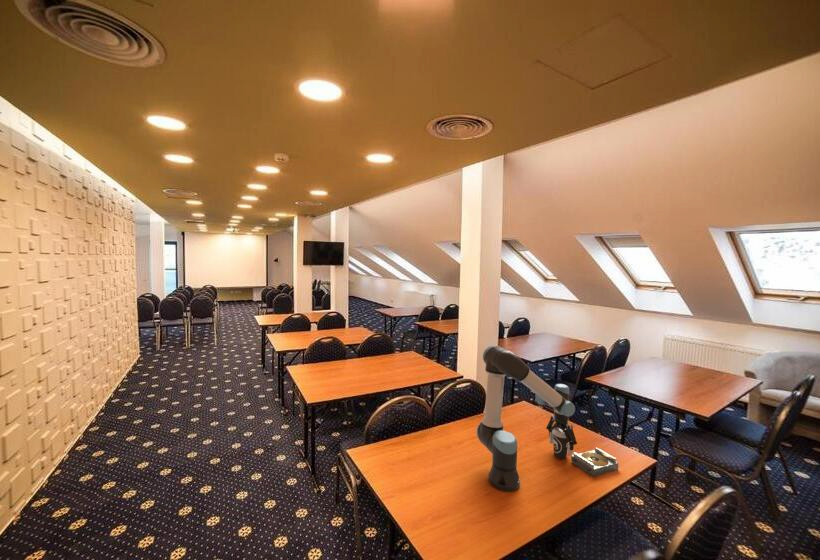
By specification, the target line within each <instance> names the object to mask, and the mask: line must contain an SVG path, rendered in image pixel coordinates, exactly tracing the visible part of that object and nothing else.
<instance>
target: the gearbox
mask: <svg viewBox="0 0 820 560" xmlns="http://www.w3.org/2000/svg"><path fill="white" fill-rule="evenodd" d="M570 461H571V462H570V463H572V464H573V465H575V466H576V467H577V468H579V469H580V470H581V471H584V473H586V474H587V475H589V476H591V477H592V478H594V477H599V476H601V475H605V474H610V473H613V472H617V471H619V462H618V461H617V457H614V456H613V455H612V454H611V455H610V454H609V453H607V452H605V451H603V450H602V449H600V448H598V447H595V448H594V449H593V450H588V451H585V452H580V453H577V452H573V455H571V459H570Z"/></svg>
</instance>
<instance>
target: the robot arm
mask: <svg viewBox="0 0 820 560" xmlns="http://www.w3.org/2000/svg"><path fill="white" fill-rule="evenodd" d="M482 359H483V362H484V363H485V372H486V373H487V380H486V381H487V383H486V394H485V403H484V404H485V406H484V415H483V416H484V417H483V418H481V420H480V423H479V424H478V425H477V427H476V436H477V439H478V440H479V442H480V443H481V444H482V445H483V446H484V447H485V448H486V449H487V450H488V451H489V452H490V453H491V454H492V464H491V467H490V471H489V472H488V475H487V478H488V484H490V485H491V486H492V487H493V488H495V489H497V490H498V491H501V492H506V493H507V492H514V491H515V492H516V491H517V490H518V489H519V488H520V486H521V479H520V476H519V473H518V468H517V467H518V466H517V464H518V463H517V462H518V460H517V459H518V448H519V447H518V440H517V437H516V436H515V435H514V434H513V433H511V432H508V431H507V430H504V423H503V421H502V411H503V410H502V408H503V397H504V386H505V385H504V384H505V377H506V376H508V377H510V378H512V379H514V381H516V382H519V383H522V384H523V385H524V386H526V387H527V388H528V389H529V390H530V391H531V392H533V393H534V394H535V395H534V397H535V398H534V399H535V401H536V402H537V405H540V406H545V405H546V406H548V407H550V408H551V409H553V410H554V411H553V413H554V415H552V416H550V420H549V421H548V424H547V425H546V427H545V428H546V430H548V436H549V437H548V438H549V440H548V441H549V445H551V444H552V445H553V434H552V430H553V429H554V428H555V427H558V428H560V429H561V430H562V431H563V432H564V433H565V435H566V437H567V440H568V449H567V457H568V456H569V457H570V456H572V455H574V452H573V451H574V446H575V445H577V444H578V443H577V439H576V436H575V432H574V429H573V425H572V424H569V423H568V422H569V418H570V417H571V416H573V415H574V413H575V412H576V406H575V405H574V403H572V401H570V394H571V393H570V387H569V386H568V385H566V384H564V383H556V384H555V386H554V388H552V386H550V385H549V384H548V383H547V382H546V381H544V380H543V379H542V378H540V377H539V376H538V375H537V374H535V372H533V371H532V370H531V368H530V366H529V365H528V364H527V363H525V362H524V361H523V360H522V359H521V358H520V357H519V356H518V355H517V354H515V353H514V352H512V351H511V350H508V349H506V348H504V347H502V346H500V345H499V346H498V345H494V344H492V345H490V346H488V347H487V348H485V350H484V351H483V352H482ZM564 429H566V430H564Z"/></svg>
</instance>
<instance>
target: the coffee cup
mask: <svg viewBox="0 0 820 560" xmlns="http://www.w3.org/2000/svg"><path fill="white" fill-rule="evenodd" d="M564 430H566V429H564ZM552 434H553V443H552V445H553V456H554V457H555V458H557V459H559V460H566V459H567V457H568V443H569V442H568V440H567V437H566V435H565V433H564V432H563V431H562V430H561V429H560V428H558V427H555V428H554V429H553V430H552Z"/></svg>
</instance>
